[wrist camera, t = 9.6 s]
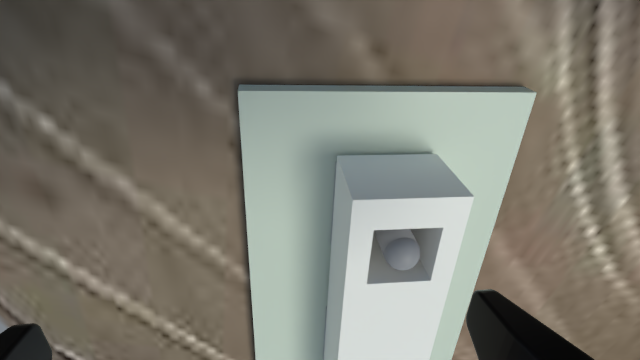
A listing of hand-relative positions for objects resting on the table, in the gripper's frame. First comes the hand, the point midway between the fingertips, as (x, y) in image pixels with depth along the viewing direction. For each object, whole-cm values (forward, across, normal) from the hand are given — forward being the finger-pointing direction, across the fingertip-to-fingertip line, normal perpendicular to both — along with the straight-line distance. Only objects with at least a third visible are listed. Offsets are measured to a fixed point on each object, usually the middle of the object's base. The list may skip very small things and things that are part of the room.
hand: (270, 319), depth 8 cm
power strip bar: (+11, -6, +10) cm, 15 cm away
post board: (+12, -6, +9) cm, 16 cm away
